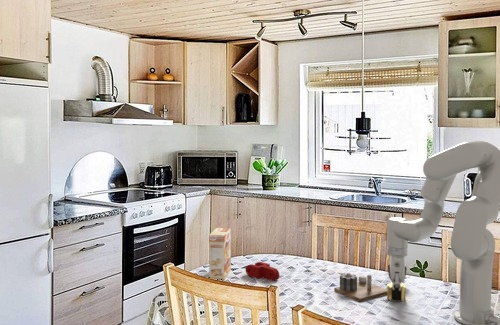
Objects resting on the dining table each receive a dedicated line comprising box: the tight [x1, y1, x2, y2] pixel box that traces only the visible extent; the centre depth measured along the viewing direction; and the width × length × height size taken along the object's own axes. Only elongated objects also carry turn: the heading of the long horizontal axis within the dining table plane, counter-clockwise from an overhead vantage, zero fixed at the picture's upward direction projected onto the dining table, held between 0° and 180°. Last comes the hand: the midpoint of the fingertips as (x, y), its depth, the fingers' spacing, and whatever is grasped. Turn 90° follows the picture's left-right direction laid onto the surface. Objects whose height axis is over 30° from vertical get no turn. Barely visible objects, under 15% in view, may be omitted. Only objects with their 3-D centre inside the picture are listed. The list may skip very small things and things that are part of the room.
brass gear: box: [386, 282, 407, 302], centre depth 179 cm, size 7×7×5 cm
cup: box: [387, 263, 408, 284], centre depth 194 cm, size 8×7×8 cm
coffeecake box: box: [208, 227, 232, 281], centre depth 209 cm, size 15×7×20 cm, turn 171°
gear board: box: [333, 272, 387, 303], centre depth 186 cm, size 14×16×7 cm
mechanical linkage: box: [245, 261, 280, 282], centre depth 206 cm, size 16×7×5 cm, turn 43°
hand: (396, 296), depth 180 cm, fingers closed on brass gear, 6 cm apart
